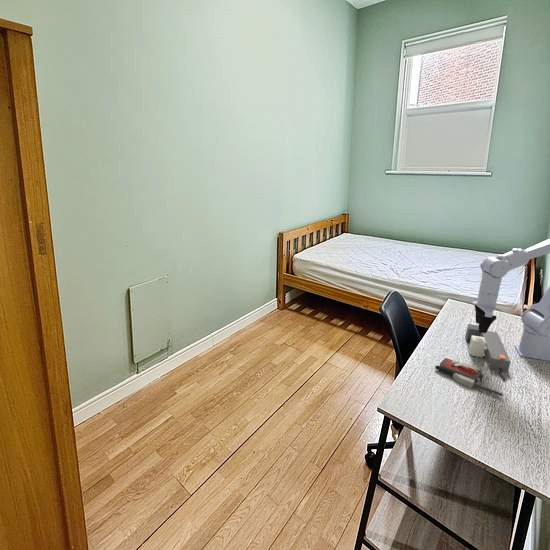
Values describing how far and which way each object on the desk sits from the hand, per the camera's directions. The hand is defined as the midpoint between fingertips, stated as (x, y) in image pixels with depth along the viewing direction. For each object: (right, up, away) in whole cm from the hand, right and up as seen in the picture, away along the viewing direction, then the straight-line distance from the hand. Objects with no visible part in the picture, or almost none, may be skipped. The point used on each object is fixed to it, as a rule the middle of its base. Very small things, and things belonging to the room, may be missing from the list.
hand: (480, 327), depth 127 cm
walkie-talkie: (-11, -15, -13) cm, 23 cm away
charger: (+1, -10, +2) cm, 10 cm away
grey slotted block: (+2, -10, 0) cm, 11 cm away
